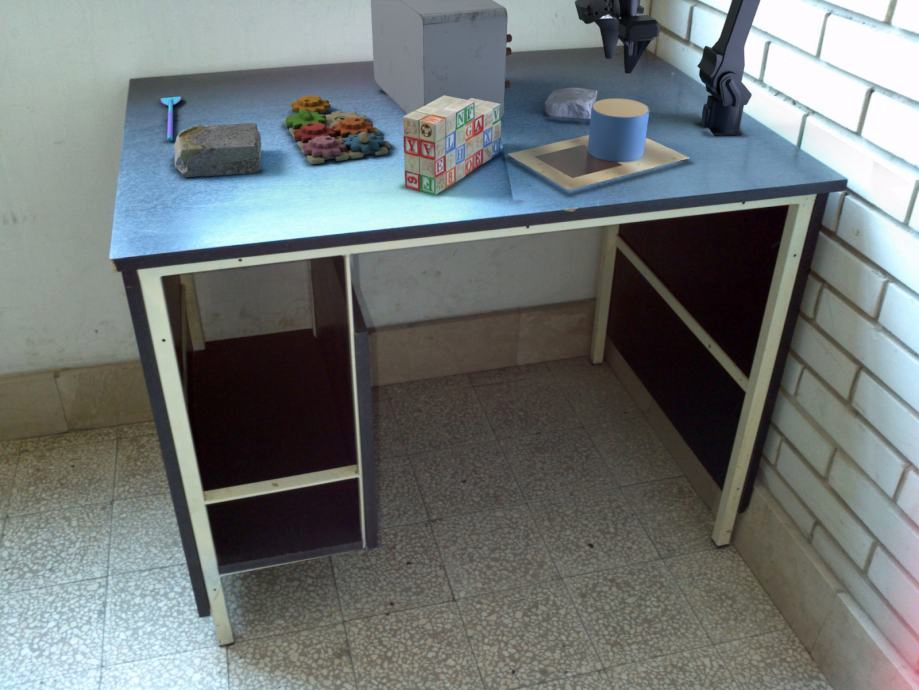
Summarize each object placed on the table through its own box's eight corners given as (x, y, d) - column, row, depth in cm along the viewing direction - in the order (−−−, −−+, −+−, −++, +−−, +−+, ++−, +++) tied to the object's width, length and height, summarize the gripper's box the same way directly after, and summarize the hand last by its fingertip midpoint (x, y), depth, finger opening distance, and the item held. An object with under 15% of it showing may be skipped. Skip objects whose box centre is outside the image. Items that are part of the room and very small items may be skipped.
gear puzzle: (272, 109, 178) (270, 89, 176) (349, 100, 183) (348, 81, 181) (308, 166, 154) (306, 144, 152) (396, 154, 159) (395, 133, 157)
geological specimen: (262, 144, 149) (169, 147, 146) (264, 177, 153) (174, 181, 149) (258, 120, 158) (170, 122, 154) (261, 153, 161) (174, 155, 158)
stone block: (544, 129, 175) (594, 123, 173) (541, 105, 173) (592, 98, 170) (551, 111, 185) (599, 105, 183) (548, 88, 183) (597, 82, 180)
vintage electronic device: (512, 126, 172) (518, -9, 158) (424, 138, 166) (422, -2, 152) (453, 78, 196) (454, -43, 182) (374, 87, 191) (369, -37, 177)
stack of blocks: (471, 147, 163) (472, 80, 156) (500, 154, 160) (503, 86, 153) (404, 187, 148) (402, 115, 141) (435, 195, 145) (435, 122, 138)
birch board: (622, 131, 170) (623, 126, 170) (689, 163, 157) (689, 157, 157) (506, 159, 158) (506, 153, 158) (568, 195, 146) (568, 189, 145)
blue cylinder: (637, 141, 163) (643, 98, 159) (648, 162, 155) (655, 117, 151) (583, 141, 163) (587, 98, 159) (592, 162, 155) (596, 117, 150)
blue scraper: (162, 98, 183) (161, 93, 182) (182, 97, 184) (181, 92, 183) (151, 143, 163) (149, 136, 162) (174, 141, 163) (172, 135, 163)
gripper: (563, -34, 158) (558, 54, 167) (602, -11, 143) (594, 85, 152) (622, -38, 161) (614, 50, 169) (666, -15, 146) (655, 79, 154)
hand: (617, 65), depth 161 cm, fingers open, 9 cm apart
